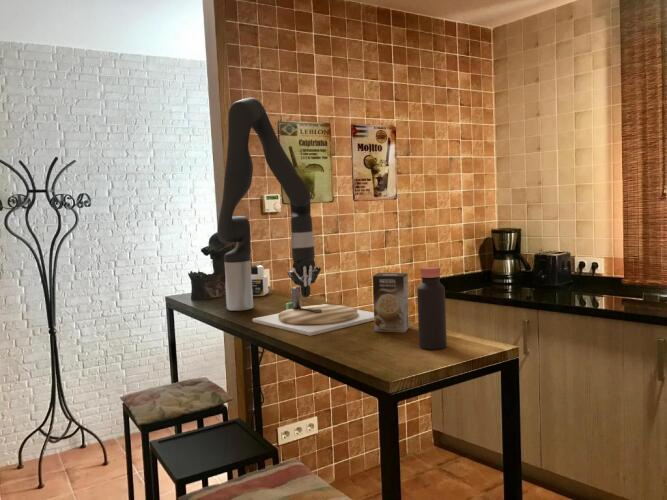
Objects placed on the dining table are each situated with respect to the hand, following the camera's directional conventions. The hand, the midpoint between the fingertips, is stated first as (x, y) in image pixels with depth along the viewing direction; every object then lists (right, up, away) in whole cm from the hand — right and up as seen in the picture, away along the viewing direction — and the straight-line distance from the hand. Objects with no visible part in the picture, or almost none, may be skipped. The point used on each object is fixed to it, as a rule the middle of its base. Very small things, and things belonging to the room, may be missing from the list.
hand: (305, 296), depth 196 cm
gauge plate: (+4, -6, -10) cm, 13 cm away
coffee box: (+26, -7, -29) cm, 40 cm away
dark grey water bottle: (+34, -9, -49) cm, 61 cm away
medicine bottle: (-22, -3, +44) cm, 50 cm away
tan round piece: (+4, -5, -11) cm, 13 cm away
